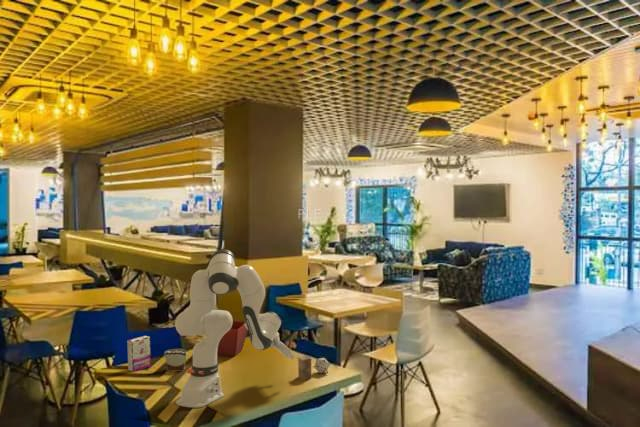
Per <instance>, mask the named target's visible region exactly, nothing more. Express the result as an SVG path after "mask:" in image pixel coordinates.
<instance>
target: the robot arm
mask: <svg viewBox="0 0 640 427" xmlns="http://www.w3.org/2000/svg"><path fill="white" fill-rule="evenodd" d="M211 255H212V256H211V257H210V259H209V260H208V261H207V264H206V265H207V267H206V269H199V270H197V271H196V272H194V273H193V275H192V276H191V281H190V286H189V287H190V291H189V294H190V296H189V297H190V303H189V306H188V308H186V309H185V310H184V311H182V312H180V313H179V314H177V317H176V318H175V321H174V322H175V323H174V324H175V329H176V332H177V333H178V334H179V335H183V336H201V335H202V336H203V335H204V336H206V337H205V338H204V339H203V340H201V341H199V342H197V343H196V344H195V345H194V346H193V348H192V364H191V368H188V369H187V370H186V371H187V374H190V375H189V377H188V378H187V380H186V382H185V384H184V385H183V386H182V389H181V395H180V397H179V398H177V400H176V401H175V404H176V405H177V406H180V407H184V408H196V409H197V408H203V407H205V406H207V405H209V404H211V403H213V402H216V401H217V400H219V399H221V398H223V397H225V394H224V392H222V383H221V376H220V375H219V372H218V371H219V362H218V355H217V350H218V344H219V342H220V340H221V338H222V337H223V336H224V334H226V333H227V332H228V331H229V330H230V329H231V327H232V324H233V321H234V320H233V315H232V314H231V312H229V311H228V310H223V309H214V308H216V304H217V295H219V296H220V295H226V294H229V293H231V292H235V291H236V290H237V291H238V293H239V295H240V298H241V304H242V305H241V306H242V315H243V319H244V326H245V327H246V329H247V332H248V333H249V340H250V344H251V345H252V347H254V348H255V349H256V350H258V351H265V350H268V349H270V348H274V349H276V350H277V351H278V352H279V353H280V354H282V355H283V356H284V357H286V358H289V359H290V360H293V359H294V358H295V356H294V355H293V354H292V350H291V349H290V348H289V347H288V346H286V345H285V344H284V343H283V342H282V341H281V340H280V333H279V332H278V331H279V329H280V327H281V325H282V319H281V317H280V316H279V315H278V314H277V313H276V312H274V311H267V312H265V313H260V312H261V309H262V305H263V303H264V301H265V298H266V289H265V285H264V283H263V280H262V279H261V277H260V275H259V274H258V272H257V271H256V270H255V268H253V266H251V265H249V264H242V265H240V266H236V257H235V255H234V253H233V252H232V251H231V250H229V249H225V248H221V249H218V250H216V251H215V252H213V254H211Z"/></svg>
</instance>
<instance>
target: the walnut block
mask: <svg viewBox="0 0 640 427" xmlns="http://www.w3.org/2000/svg"><path fill="white" fill-rule="evenodd" d="M297 360H298V363H297V365H298V378H299V379H301V381H303V380H309V379H312V358H311V357H310V356H309V355H304V356H299V357H297Z"/></svg>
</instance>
